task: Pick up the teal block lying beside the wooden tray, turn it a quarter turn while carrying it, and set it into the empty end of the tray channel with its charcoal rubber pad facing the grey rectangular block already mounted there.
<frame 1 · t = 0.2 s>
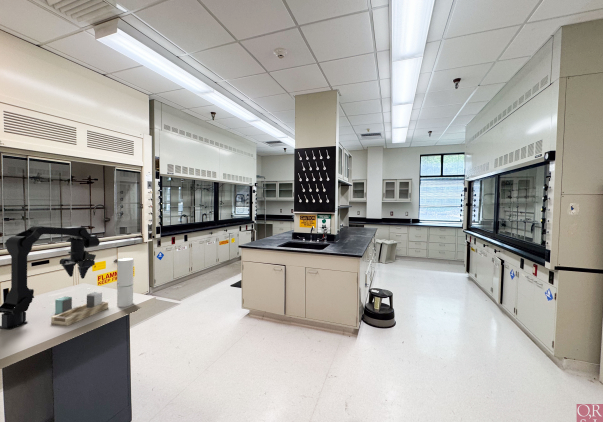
hand: (76, 277, 139), 14 cm above the countertop, tool pointing down, fingers open, 9 cm apart
grey rectangular block: (94, 306, 131), resting on wooden tray
teal block: (63, 312, 128), on the countertop
cylindrical container: (125, 304, 139), on the countertop
wooden tray: (81, 315, 125), on the countertop
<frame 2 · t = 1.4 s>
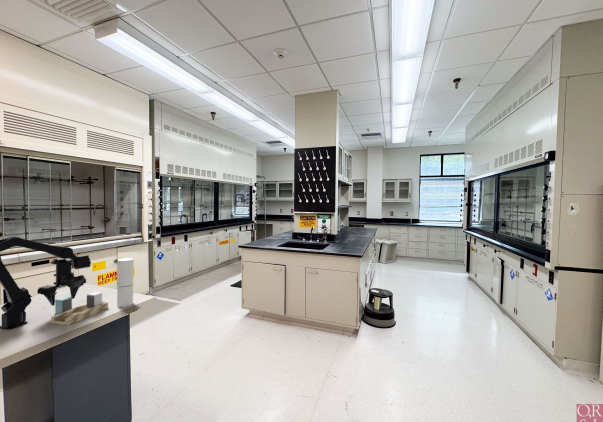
hand: (63, 302, 127), 5 cm above the countertop, tool pointing down, fingers open, 9 cm apart
nothing on the countertop moved.
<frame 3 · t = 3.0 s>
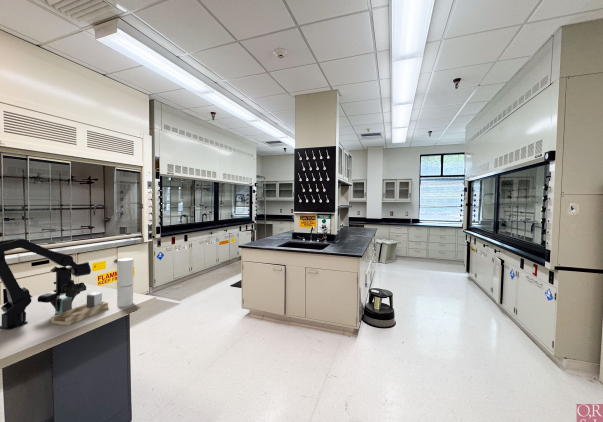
hand: (63, 309, 128), 1 cm above the countertop, tool pointing down, fingers closed on teal block, 5 cm apart
teal block: (63, 311, 128), on the countertop, touching gripper
everything else where it was.
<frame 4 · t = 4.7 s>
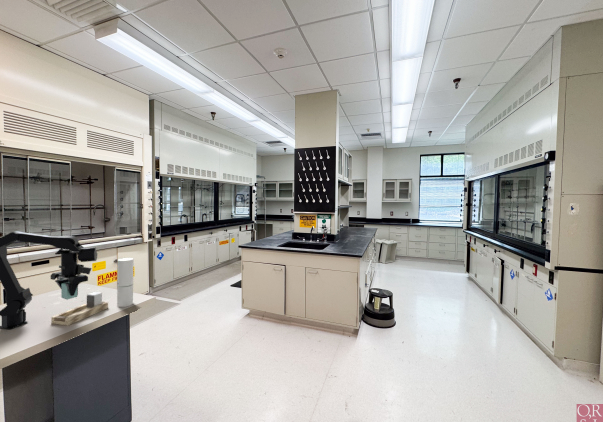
hand: (69, 294, 121), 11 cm above the countertop, tool pointing down, fingers closed on teal block, 5 cm apart
teal block: (69, 297, 121), point 10 cm above the countertop, touching gripper
everything else where it was.
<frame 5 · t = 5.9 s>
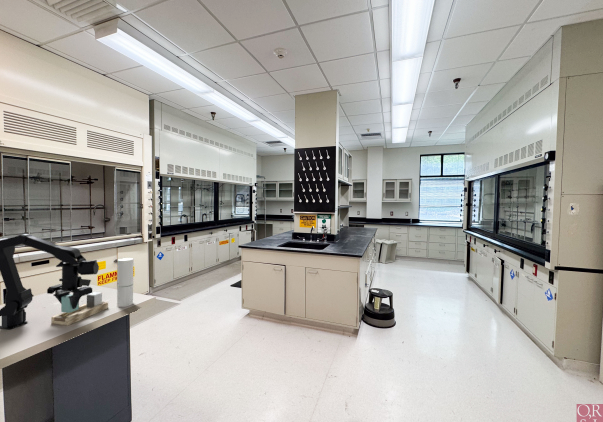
hand: (69, 308, 119), 6 cm above the countertop, tool pointing down, fingers closed on teal block, 5 cm apart
teal block: (70, 310, 119), point 4 cm above the countertop, touching gripper
everything else where it was.
when the fingers open (5 cm above the countertop, at t = 6.9 s): teal block drops 2 cm, resting on wooden tray.
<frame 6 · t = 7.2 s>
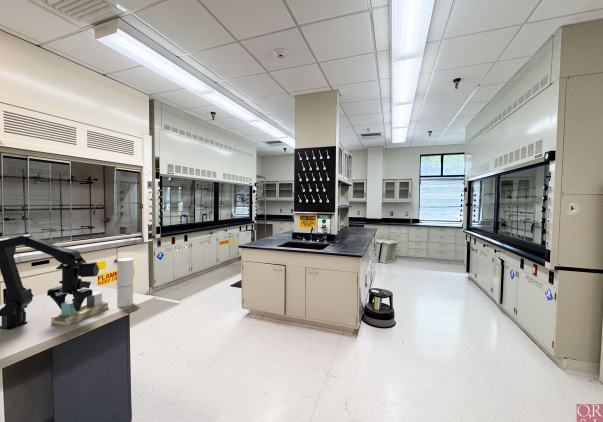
hand: (70, 310, 119), 5 cm above the countertop, tool pointing down, fingers open, 8 cm apart
teal block: (70, 316, 119), point 1 cm above the countertop, touching wooden tray
everything else where it was.
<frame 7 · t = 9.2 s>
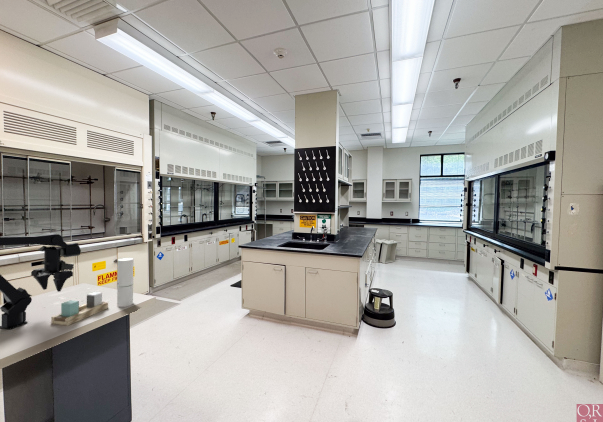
hand: (52, 290, 124), 12 cm above the countertop, tool pointing down, fingers open, 9 cm apart
nothing on the countertop moved.
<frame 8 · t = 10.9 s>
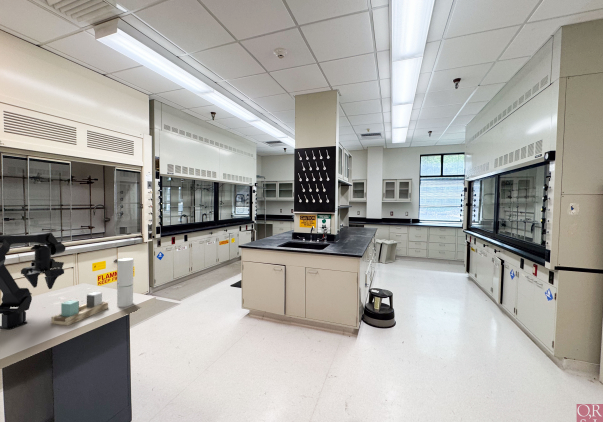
hand: (42, 288, 127), 12 cm above the countertop, tool pointing down, fingers open, 9 cm apart
nothing on the countertop moved.
at the end: teal block 0.1 cm from the target spot on the wooden tray, point 1.5 cm above the wooden tray's base; teal block tilted 0°; the gripper is holding nothing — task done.
